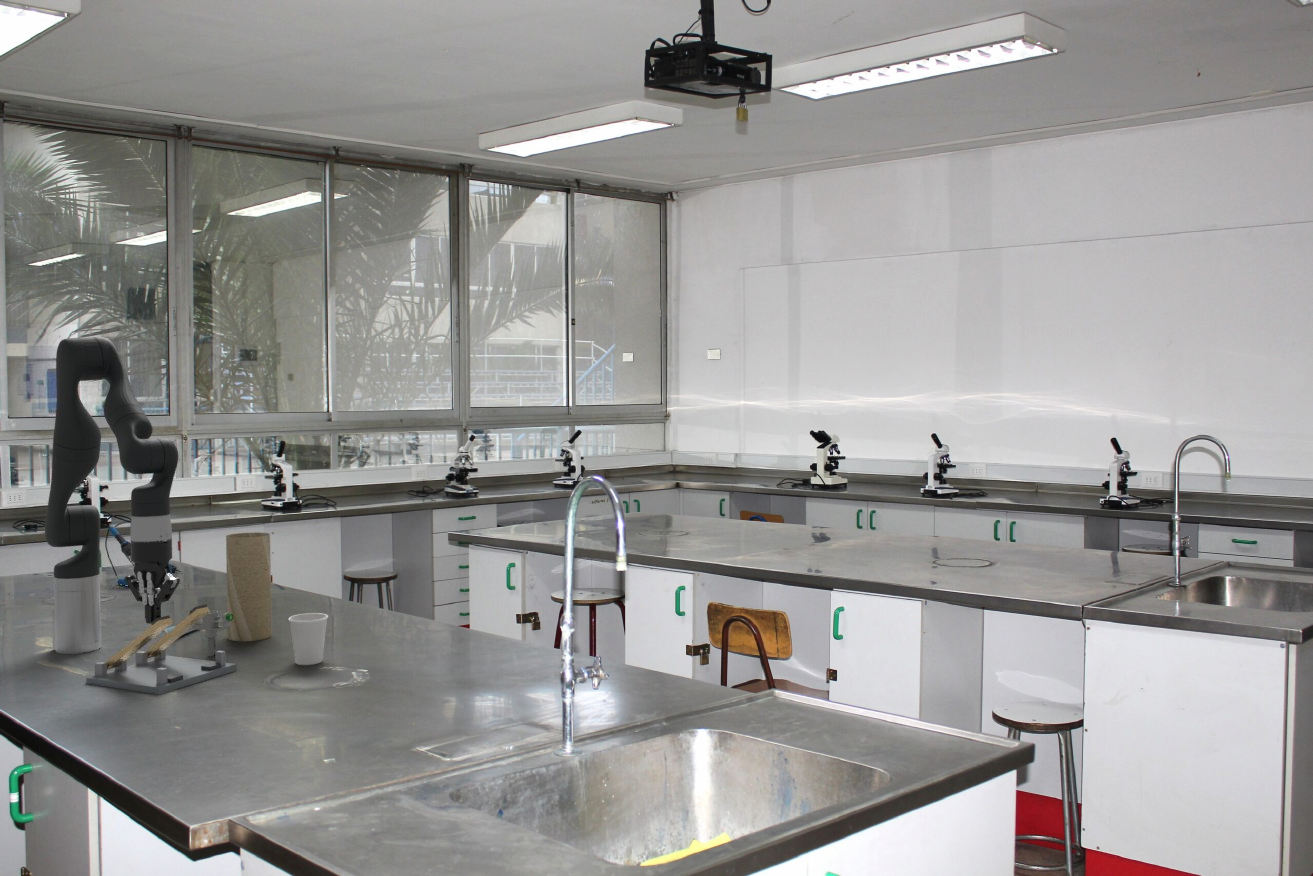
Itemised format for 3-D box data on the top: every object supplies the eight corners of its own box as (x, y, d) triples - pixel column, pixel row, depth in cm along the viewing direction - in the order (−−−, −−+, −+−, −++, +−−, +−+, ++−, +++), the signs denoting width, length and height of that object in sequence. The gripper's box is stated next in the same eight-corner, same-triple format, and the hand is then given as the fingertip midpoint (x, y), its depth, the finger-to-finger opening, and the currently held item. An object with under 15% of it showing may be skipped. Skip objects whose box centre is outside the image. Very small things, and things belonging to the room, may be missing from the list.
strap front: (103, 671, 216) (100, 663, 216) (116, 668, 218) (112, 660, 219) (161, 626, 209) (157, 618, 209) (173, 623, 212) (169, 615, 212)
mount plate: (86, 685, 213) (85, 663, 213) (166, 662, 231) (166, 642, 231) (159, 695, 205) (159, 672, 205) (236, 670, 224) (236, 650, 223)
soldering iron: (198, 569, 362) (197, 516, 361) (253, 577, 344) (252, 521, 344) (96, 584, 333) (95, 526, 333) (150, 594, 316) (149, 533, 315)
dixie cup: (316, 667, 226) (315, 621, 226) (281, 665, 228) (280, 619, 228) (335, 658, 235) (335, 613, 234) (301, 656, 236) (301, 612, 236)
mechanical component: (228, 658, 234) (227, 614, 234) (187, 656, 236) (186, 612, 236) (236, 655, 237) (235, 611, 237) (195, 653, 239) (194, 610, 239)
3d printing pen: (165, 629, 247) (154, 632, 248) (168, 642, 247) (157, 645, 247) (206, 616, 267) (196, 619, 267) (210, 628, 266) (199, 631, 267)
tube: (236, 643, 249) (234, 538, 248) (221, 636, 256) (220, 534, 255) (278, 637, 255) (276, 535, 254) (262, 630, 263) (261, 531, 262)
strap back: (144, 660, 225) (140, 652, 225) (155, 657, 228) (152, 649, 228) (199, 614, 218) (195, 606, 219) (210, 612, 221) (206, 604, 222)
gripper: (111, 538, 210) (113, 624, 211) (160, 541, 205) (162, 629, 206) (142, 534, 217) (144, 617, 218) (190, 536, 212) (192, 621, 213)
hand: (153, 623), depth 212 cm, fingers closed
